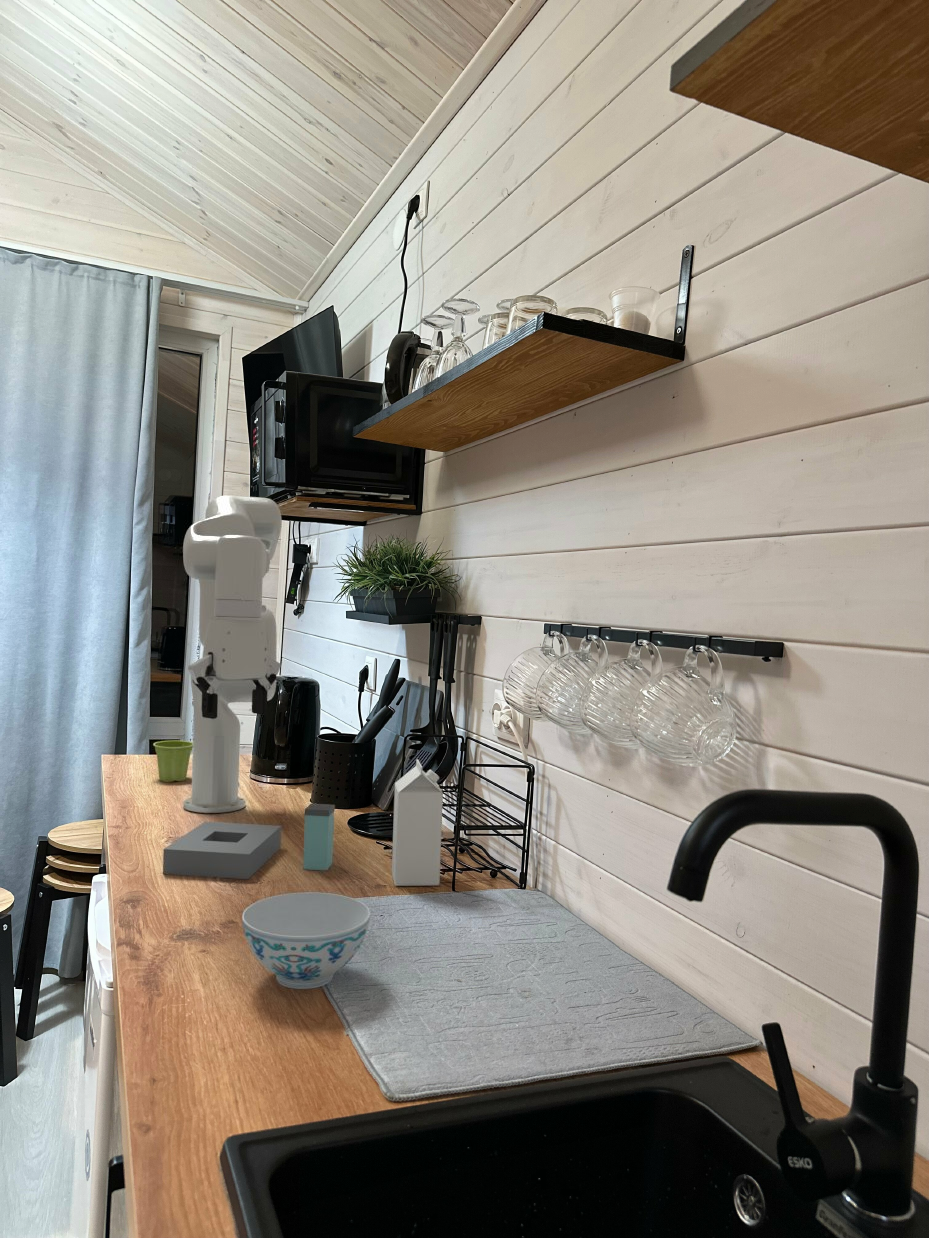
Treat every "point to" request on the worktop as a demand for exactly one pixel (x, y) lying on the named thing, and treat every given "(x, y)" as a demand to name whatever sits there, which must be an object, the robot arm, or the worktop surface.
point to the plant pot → (173, 759)
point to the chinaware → (305, 935)
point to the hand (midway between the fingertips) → (234, 715)
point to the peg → (318, 836)
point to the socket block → (222, 850)
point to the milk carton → (417, 829)
